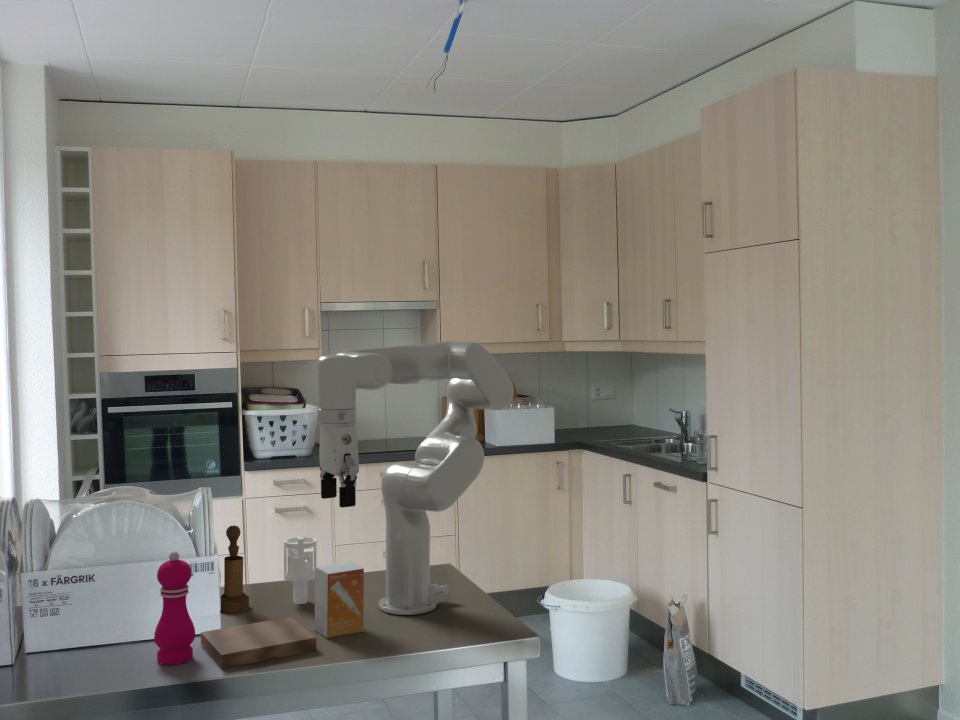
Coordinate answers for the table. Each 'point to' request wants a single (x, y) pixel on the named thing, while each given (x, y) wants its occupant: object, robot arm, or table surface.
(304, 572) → the white slotted cylindrical holder
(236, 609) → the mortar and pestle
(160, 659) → the pepper mill
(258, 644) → the walnut board
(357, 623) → the small box
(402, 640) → the table surface
